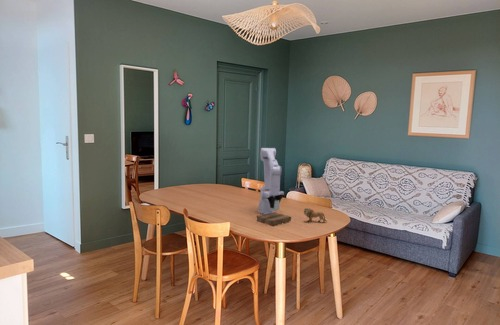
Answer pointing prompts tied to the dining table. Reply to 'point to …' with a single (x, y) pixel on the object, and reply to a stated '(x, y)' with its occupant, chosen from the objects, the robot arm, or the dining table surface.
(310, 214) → the lion figurine
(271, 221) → the walnut plinth
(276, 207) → the grey block
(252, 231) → the dining table surface
